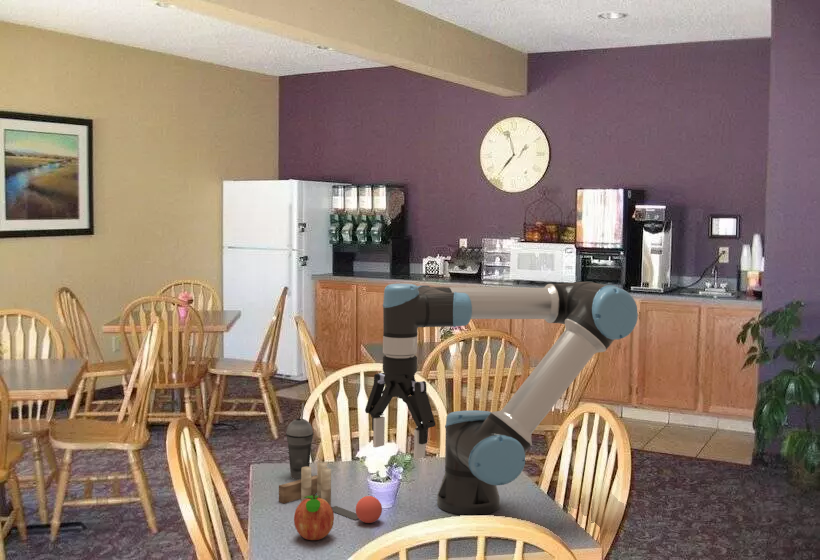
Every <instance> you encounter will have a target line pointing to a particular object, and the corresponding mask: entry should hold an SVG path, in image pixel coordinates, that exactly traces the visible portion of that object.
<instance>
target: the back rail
mask: <svg viewBox="0 0 820 560" xmlns="http://www.w3.org/2000/svg"><path fill="white" fill-rule="evenodd" d="M313 493H315V495H317V494H316V493H317V474H316V475H311V496H313ZM297 500H301V479H296V480H293V481H290V482H287V483H282V484H279V485H278V502H279V503H282V504H287V503H290V502H295V501H297Z"/></svg>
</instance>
